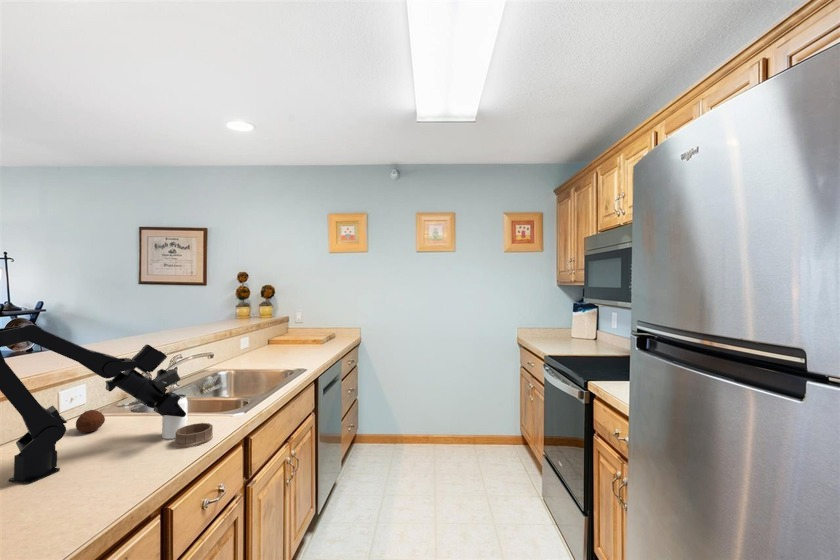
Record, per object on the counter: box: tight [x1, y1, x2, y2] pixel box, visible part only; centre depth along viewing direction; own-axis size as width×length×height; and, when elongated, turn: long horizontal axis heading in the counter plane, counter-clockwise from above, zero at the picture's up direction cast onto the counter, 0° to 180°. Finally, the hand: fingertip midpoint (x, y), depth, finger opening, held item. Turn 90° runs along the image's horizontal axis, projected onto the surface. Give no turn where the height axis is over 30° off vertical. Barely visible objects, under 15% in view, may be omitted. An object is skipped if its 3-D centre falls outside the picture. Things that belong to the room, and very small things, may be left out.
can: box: [161, 393, 188, 440], centre depth 112 cm, size 6×6×12 cm
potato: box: [75, 409, 106, 434], centre depth 115 cm, size 7×9×6 cm
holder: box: [174, 422, 214, 449], centre depth 108 cm, size 10×10×4 cm
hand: (180, 412), depth 113 cm, fingers open, 7 cm apart
